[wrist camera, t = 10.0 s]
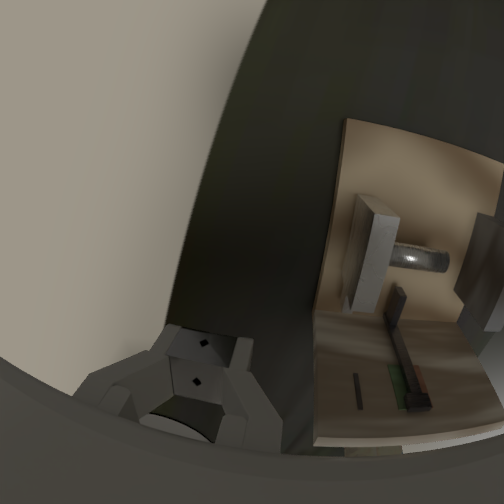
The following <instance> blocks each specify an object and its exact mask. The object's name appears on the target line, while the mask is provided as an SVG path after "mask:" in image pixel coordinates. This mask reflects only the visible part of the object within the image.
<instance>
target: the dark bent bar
mask: <svg viewBox="0 0 504 504" xmlns="http://www.w3.org/2000/svg"><path fill="white" fill-rule="evenodd" d="M406 299H407V295H406V294H405V292H404V290H403V288H402V287H398V286H395V288H394V291H393V294H392V297H391V300H390V303H389V306H388V309H387V311H386V312H384V313H383V316H382V317H383V319H384V322H385V325H386V328H387V330H388V333H389V336H390V339H391V342H392V345H393V348H394V351H395V354H396V357H397V360H398V363H399V366H400V369H401V373H402V376H403V379H404V382H405V386H406V389H407V393H406V394H405V395H404V397H403V398H404V402H405V406H406V410H407V412H424V411H430V410H431V408H432V404H431V401H430V398H429V395H428V393H422V390H421V387H420V384H419V381H418V378H417V375H416V373H415V370H414V367H413V364H412V361H411V359H410V356H409V353H408V351H407V348H406V345H405V343H404V340H403V338H402V335H401V333H400V330H399V328H398V325H397V323H398V320H399V318H400V315H401V313H402V310H403V307H404V305H405V302H406Z"/></svg>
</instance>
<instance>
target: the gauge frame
mask: <svg viewBox="0 0 504 504" xmlns="http://www.w3.org/2000/svg"><path fill="white" fill-rule="evenodd" d="M503 170H504V164H502V163H500V162H497V161H495V160H492V159H490V158H487V157H485V156H482V155H480V154H477V153H474V152H472V151H469V150H466V149H463V148H460V147H457V146H455V145H452V144H448V143H445V142H442V141H439V140H436V139H432V138H429V137H426V136H422V135H419V134H415V133H411V132H408V131H404V130H400V129H396V128H392V127H387V126H383V125H379V124H374V123H369V122H364V121H359V120H354V119H349V118H346V119H344V123H343V132H342V141H341V149H340V157H339V164H338V172H337V179H336V186H335V192H334V199H333V205H332V211H331V217H330V223H329V229H328V235H327V240H326V246H325V251H324V256H323V261H322V266H321V271H320V276H319V281H318V286H317V291H316V295H315V300H314V304H313V309H312V321H313V343H314V436H313V446H327V447H381V446H398V445H410V444H420V443H429V442H436V441H443V440H450V439H456V438H461V437H466V436H471V435H476V434H481V433H485V432H489V431H493V430H497V429H500V428H502V426H503V425H504V409H503V406H502V404H501V402H500V400H499V398H498V396H497V394H496V392H495V390H494V388H493V386H492V384H491V382H490V380H489V378H488V376H487V374H486V372H485V371H484V369H483V367H482V365H481V363H480V362H479V360H478V358H477V356H476V354H475V353H474V351H473V349H472V348H471V346H470V344H469V343H468V341H467V339H466V338H465V336H464V334H463V333H462V331H461V329H460V328H459V326H458V325H457V323H456V322H457V320H458V317H459V315H460V313H461V311H462V308H463V306H464V305H465V306H466V308H467V309H468V310H469V312H470V313H471V314H472V316H473V317H474V318H475V320H476V321H477V323H478V324H479V326H480V327H481V328H482V330H483V331H501V329H502V327H503V325H504V223H503V222H502V221H500V220H498V219H497V218H495V217H494V214H495V210H496V206H497V201H498V197H499V192H500V187H501V181H502V176H503ZM357 194H362V195H367V196H373V197H378V198H379V199H380V200H381V201H382V202H383V203H385V204H386V205H387V206H388V207H389V208H390V209H391V210H392V211H393V212H394V213H395V214H397V215H398V216H399V217H400V222H399V226H398V231H397V235H396V239H395V242H399V243H405V244H411V245H417V246H423V247H429V248H435V249H440V250H446V251H448V253H449V256H450V264H449V268H448V270H447V271H446V273H444V274H441V273H434V272H427V271H420V270H413V269H406V268H399V267H392V266H388V269H387V272H386V276H385V279H384V282H383V286H382V289H381V292H380V295H379V298H378V302H377V305H376V308H375V311H374V313H366V312H357V311H353V312H352V314H348V313H342V312H341V307H340V297H341V293H342V289H343V285H344V282H343V278H342V274H341V272H342V268H343V263H344V259H345V254H346V250H347V245H348V240H349V235H350V230H351V225H352V220H353V215H354V209H355V204H356V198H357ZM395 286H398V287H402V288H403V290H404V292H405V294H406V295H407V299H406V302H405V305H404V307H403V310H402V313H401V315H400V318H399V320H398V323H397V325H398V328H399V330H400V333H401V335H402V338H403V340H404V343H405V345H406V348H407V351H408V353H409V356H410V359H411V361H412V364H413V367H414V370H415V373H416V375H417V378H418V381H419V384H420V387H421V390H422V393H428V395H429V398H430V401H431V404H432V408H431V410H430V411H424V412H407V410H406V406H405V402H404V398H403V397H404V395H405V394H406V393H407V389H406V386H405V382H404V379H403V376H402V373H401V369H400V366H399V363H398V360H397V357H396V354H395V351H394V348H393V345H392V342H391V339H390V336H389V333H388V330H387V328H386V325H385V322H384V319H383V317H382V316H383V313H384V312H386V311H387V309H388V306H389V303H390V300H391V297H392V294H393V291H394V288H395Z"/></svg>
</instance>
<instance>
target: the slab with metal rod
mask: <svg viewBox="0 0 504 504" xmlns="http://www.w3.org/2000/svg"><path fill="white" fill-rule="evenodd" d="M399 222H400V217H399V216H398V215H397V214H395V213H394V212H393V211H392V210H391V209H390V208H389V207H388V206H387V205H386V204H385V203H383V202H382V201H381V200H380V199H379V198H378V197H373V196H367V195H362V194H357V198H356V204H355V209H354V215H353V220H352V225H351V230H350V235H349V240H348V245H347V250H346V254H345V259H344V263H343V268H342V272H341V274H342V278H343V282H344V285H343V289H342V293H341V297H340V307H341V312H342V313H348V314H352V312H353V311H357V312H366V313H374V311H375V308H376V305H377V302H378V298H379V295H380V292H381V289H382V286H383V282H384V279H385V276H386V272H387V269H388V266H392V267H399V268H406V269H413V270H420V271H427V272H434V273H441V274H444V273H446V271H447V270H448V268H449V264H450V256H449V253H448V251H446V250H440V249H435V248H429V247H423V246H417V245H411V244H405V243H399V242H395V239H396V235H397V231H398V226H399Z"/></svg>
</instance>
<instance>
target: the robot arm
mask: <svg viewBox="0 0 504 504" xmlns="http://www.w3.org/2000/svg"><path fill="white" fill-rule="evenodd" d="M253 343H254V340H253V339H251V338H244V337H234V336H228V335H222V334H216V333H210V332H206V331H201V330H196V329H192V328H187V327H182V326H178V325H173V324H168V325H166V326H165V328H164V329H163V331H162V332H161V334H160V336H159V337H158V339H157V340H156V342H155V343H154V345H153V346H152V348H151V349H150V351H147V350H145V351H142V352H140V353H138V354H136V355H133V356H131V357H129V358H126V359H124V360H121V361H119V362H117V363H114V364H112V365H110V366H107V367H105V368H102V369H100V370H97V371H95V372H93V373H90V374H89V375H88V376H87V378H86V379H85V380H84V382H83V383H82V384H81V385H80V387H79V388H78V389H77V391H76V392H75V393H74V395H73V396H70V395H67V394H65V393H63V392H61V391H59V390H57V389H55V388H53V387H51V386H49V385H47V384H46V383H44V382H41V381H40V380H38V379H36V378H34V377H33V376H31V375H29V374H27V373H26V372H24V371H22V370H21V369H19V368H17V367H16V366H14V365H12V364H11V363H9V362H8V361H6V360H4V359H3V358H1V357H0V504H504V434H501V435H498V436H495V437H491V438H487V439H483V440H480V441H475V442H471V443H467V444H463V445H458V446H452V447H447V448H442V449H436V450H430V451H422V452H415V453H407V454H395V455H382V456H361V457H326V456H304V455H290V454H280V446H281V436H282V425H283V421H282V419H281V418H280V416H279V415H278V413H277V412H276V410H275V409H274V407H273V406H272V404H271V403H270V401H269V400H268V398H267V396H266V395H265V393H264V392H263V390H262V389H261V387H260V386H259V384H258V382H257V381H256V379H255V378H254V376H253V375H252V373H251V372H250V367H251V360H252V351H253ZM174 395H179V396H183V397H188V398H193V399H198V400H202V401H206V402H210V403H215V404H219V405H222V407H223V409H224V412H225V414H226V415H225V416H223V418H222V421H221V425H220V428H219V431H218V435H217V438H216V441H215V444H214V443H211V442H209V441H208V440H207V439H206V438H205V437H203V436H202V435H201V434H199V433H198V432H196V431H195V430H193V429H191V428H189V427H187V426H185V425H183V424H181V423H179V422H176V421H174V420H171V419H168V418H165V417H161V416H157V415H153V414H148V413H149V412H151V411H152V410H154V409H155V408H157V407H158V406H160V405H161V404H162V403H164V402H165V401H167V400H168V399H170V398H171V397H173V396H174Z"/></svg>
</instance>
